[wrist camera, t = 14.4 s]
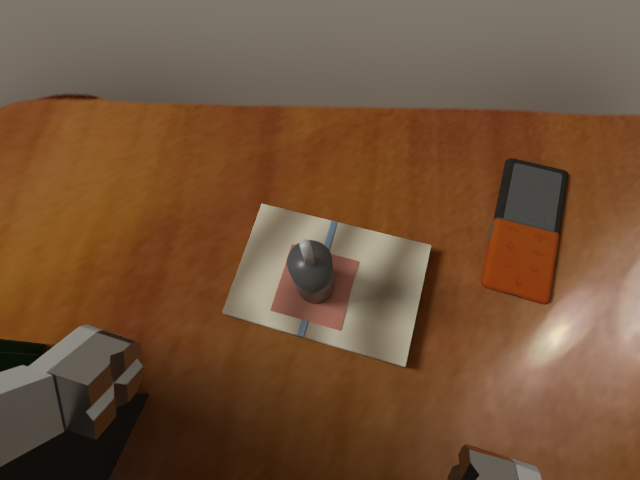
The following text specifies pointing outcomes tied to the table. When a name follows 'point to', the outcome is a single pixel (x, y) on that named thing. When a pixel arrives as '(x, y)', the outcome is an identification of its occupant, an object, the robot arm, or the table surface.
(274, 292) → the cream flat block
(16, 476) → the binder
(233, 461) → the table surface
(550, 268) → the phone
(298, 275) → the grey cylinder with rod
